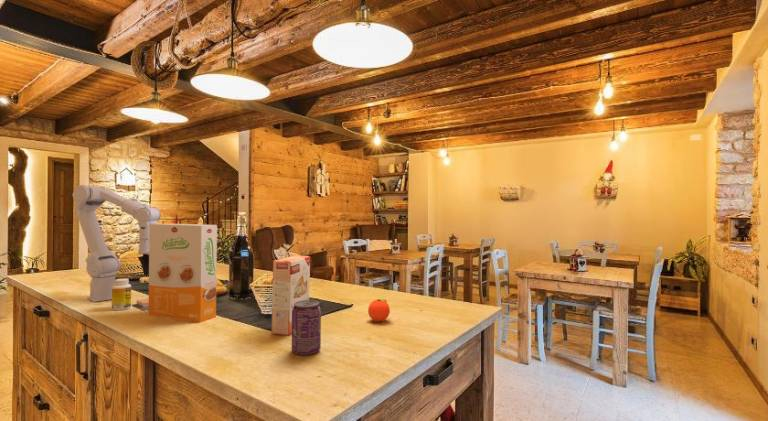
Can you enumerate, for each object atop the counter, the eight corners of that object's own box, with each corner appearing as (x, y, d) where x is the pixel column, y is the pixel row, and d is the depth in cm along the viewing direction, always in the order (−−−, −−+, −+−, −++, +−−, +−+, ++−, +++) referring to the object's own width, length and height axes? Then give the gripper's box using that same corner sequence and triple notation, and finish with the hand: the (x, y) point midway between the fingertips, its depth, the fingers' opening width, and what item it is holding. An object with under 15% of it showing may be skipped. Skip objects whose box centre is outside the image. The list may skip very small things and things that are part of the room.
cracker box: (290, 336, 105) (291, 261, 105) (270, 334, 106) (271, 260, 106) (310, 321, 118) (311, 255, 118) (292, 320, 120) (293, 254, 120)
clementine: (378, 316, 126) (378, 294, 126) (395, 319, 122) (395, 297, 122) (363, 321, 119) (363, 299, 119) (381, 325, 115) (381, 302, 115)
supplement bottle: (126, 310, 129) (127, 280, 129) (108, 311, 128) (108, 281, 128) (133, 306, 135) (134, 277, 135) (116, 307, 133) (116, 278, 133)
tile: (136, 300, 136) (143, 303, 131) (155, 297, 140) (162, 300, 136) (136, 304, 136) (143, 307, 131) (155, 301, 140) (162, 304, 136)
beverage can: (308, 344, 99) (308, 298, 99) (326, 350, 94) (327, 302, 94) (285, 351, 93) (286, 303, 93) (303, 359, 89) (304, 308, 89)
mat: (132, 305, 136) (132, 304, 136) (159, 300, 143) (159, 300, 143) (143, 310, 129) (143, 309, 129) (171, 305, 136) (171, 304, 136)
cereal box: (215, 317, 122) (217, 225, 122) (200, 322, 116) (201, 225, 116) (165, 310, 130) (166, 223, 130) (148, 314, 124) (149, 224, 124)
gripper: (167, 239, 141) (166, 275, 141) (152, 237, 150) (152, 271, 150) (146, 240, 136) (145, 278, 136) (132, 238, 145) (131, 273, 145)
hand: (147, 274), depth 143 cm, fingers closed
